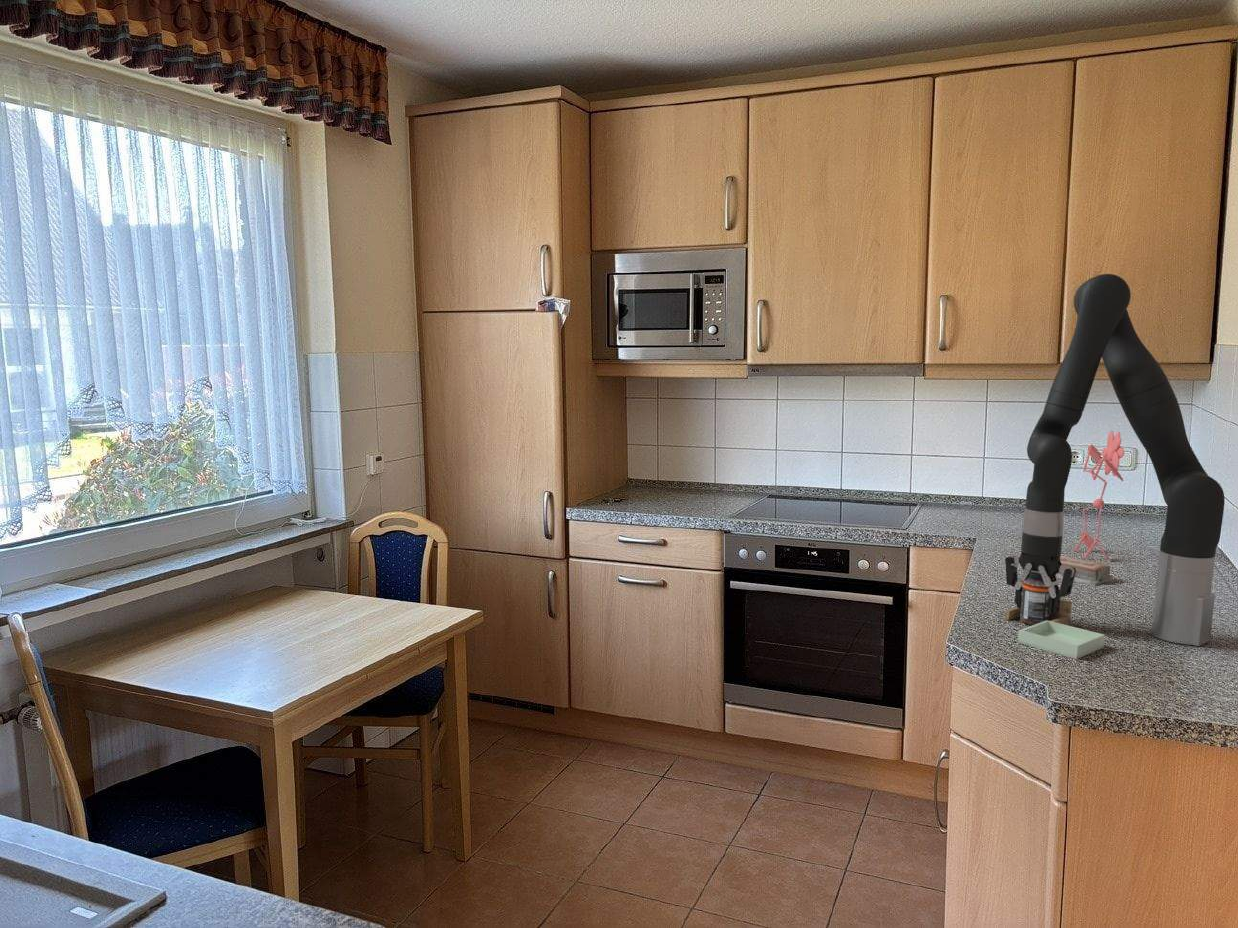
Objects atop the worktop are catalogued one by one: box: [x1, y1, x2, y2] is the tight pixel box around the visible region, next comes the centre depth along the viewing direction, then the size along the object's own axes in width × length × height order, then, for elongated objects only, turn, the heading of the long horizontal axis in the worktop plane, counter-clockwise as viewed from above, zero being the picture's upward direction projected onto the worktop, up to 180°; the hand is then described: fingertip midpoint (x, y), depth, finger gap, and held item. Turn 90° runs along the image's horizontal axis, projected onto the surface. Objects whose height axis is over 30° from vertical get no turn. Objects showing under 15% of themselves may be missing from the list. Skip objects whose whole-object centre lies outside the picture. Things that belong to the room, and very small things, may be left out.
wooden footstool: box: [1004, 598, 1072, 626], centre depth 188 cm, size 10×8×5 cm
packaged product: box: [1056, 554, 1114, 586], centre depth 229 cm, size 18×5×10 cm
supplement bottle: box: [1019, 570, 1052, 626], centre depth 187 cm, size 6×6×11 cm
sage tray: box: [1017, 620, 1106, 660], centre depth 174 cm, size 11×11×2 cm
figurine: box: [1072, 430, 1125, 562], centre depth 248 cm, size 15×26×35 cm, turn 170°
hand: (1036, 610), depth 188 cm, fingers closed on supplement bottle, 6 cm apart
